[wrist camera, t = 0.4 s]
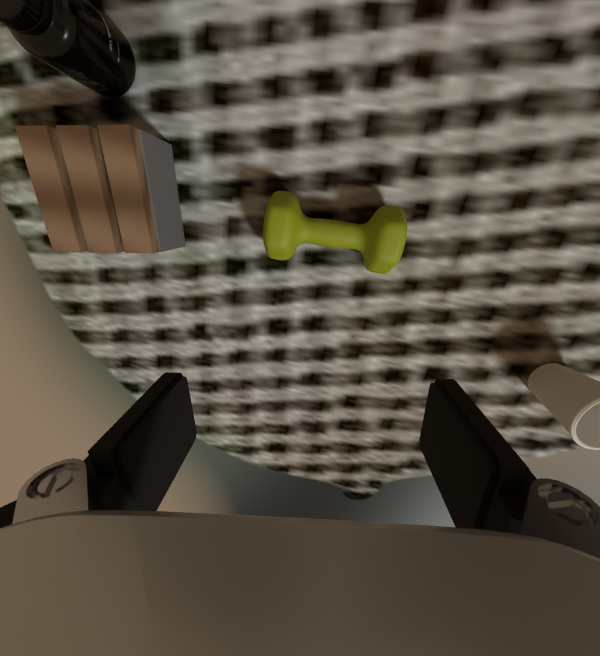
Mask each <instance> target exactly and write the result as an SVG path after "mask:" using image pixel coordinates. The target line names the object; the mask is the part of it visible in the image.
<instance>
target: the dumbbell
mask: <svg viewBox="0 0 600 656" xmlns="http://www.w3.org/2000/svg"><path fill="white" fill-rule="evenodd" d="M406 236H407V222H406V218H405V214H404V211H403V210H402V209H401V208H400V207H398V206H392V205H384V206H382V207H380V208H379V209H378V210H377V211H376V212H375V213H374V215H373V216H372V217H371V219H370V220H369V221H368V222H367V223H365V224H354V223H350V222H344V221H338V220H330V219H318V218H309V217H306V216H305V215H304V214H303V213H302V211H301V208H300V205H299V201H298V199H297V197H296V196H295V195H294V194H293V193H290V192H286V191H276V192H274V193H273V194H272V196H271V198H270V200H269V202H268V205H267V208H266V211H265V216H264V225H263V241H264V246H265V249H266V252H267V254H268V256H269V257H270V258H272V259H276V260H288V259H289V258H291V257H292V255H293V254H294V252H295V250H296V248H297V247H298V246H299V245H300V244H302V243H312V244H316V245H321V246H326V247H333V248H347V249H356V250H358V251H360V252H361V253H362V255H363V258H364V263H365V266H366V268H367V270H369V271H371V272H374V273H381V274H385V273H387V272H389V271H390V270H391V269H392V268H393V267H394V266H395V265H396V264H397V263H398V261H399V260H400V258H401V255H402V252H403V249H404V245H405V241H406Z"/></svg>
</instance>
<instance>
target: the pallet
mask: <svg viewBox="0 0 600 656" xmlns="http://www.w3.org/2000/svg"><path fill="white" fill-rule="evenodd" d="M97 127H98V129H96V128H93V127H91V126H88V125H56V129H55V128H52V127H49V126H46V125H42V126H15V128H16V132H17V135H18V138H19V141H20V145H21V148H22V151H23V154H24V158H25V161H26V164H27V167H28V171H29V174H30V177H31V180H32V184H33V187H34V190H35V193H36V197H37V200H38V203H39V206H40V210H41V213H42V216H43V219H44V223H45V226H46V229H47V232H48V236H49V239H50V242H51V245H52V249H53V252H85V251H89V252H103V253H117V252H123V251H124V252H125V253H156V252H159V246H158V240H157V234H156V229H155V223H154V217H153V211H152V205H151V200H150V194H149V188H148V182H147V177H146V171H145V165H144V159H143V153H142V148H141V142H140V136H139V130H138V129H137V128H135V127H133V126H131V125H97Z"/></svg>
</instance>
